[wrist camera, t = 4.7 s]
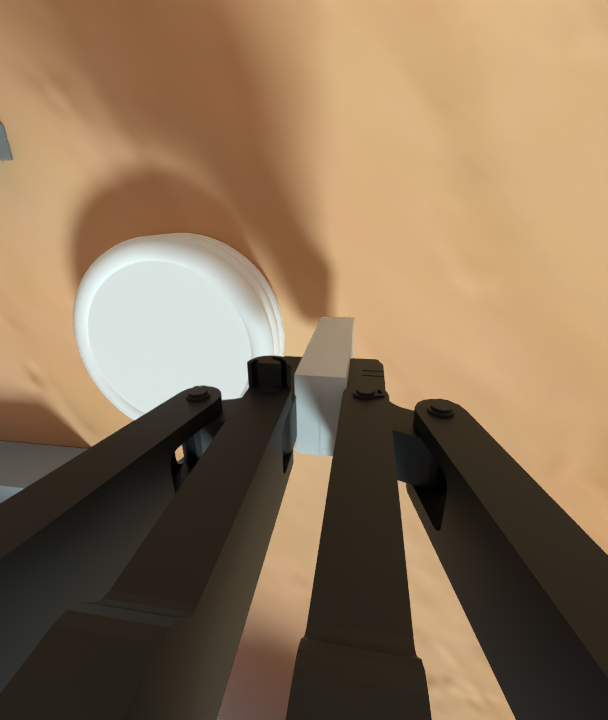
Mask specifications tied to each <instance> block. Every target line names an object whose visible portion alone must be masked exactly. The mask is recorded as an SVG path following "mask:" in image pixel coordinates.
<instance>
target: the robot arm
mask: <svg viewBox="0 0 608 720" xmlns="http://www.w3.org/2000/svg"><path fill="white" fill-rule="evenodd" d="M353 342H354V318H350V317H321V318H320V320H319V323H318V325H317V327H316V329H315V331H314V333H313V335H312V338H311V340H310V342H309V344H308V346H307V348H306V350H305V353H304V355H303V357H292V356H285V357H282V356H275V355H270V356H260V357H256V358H253V359H251V360H249V361H248V362H247V370H248V383H249V388H248V389H247V391H246V392H245V394H244V395H243V397H242V398H237V399H227V400H222V395H221V391H220V390H219V389H218V388H215V387H211V386H205V385H201V386H194V387H193V388H189V389H186V390H184V391H182V392H180V393H178V394H176V395H175V396H173V397H172V398H170V399H168V400H167V401H165V402H164V403H162V404H160V405H159V406H157V407H155V408H154V409H152V410H151V411H149V412H147V413H146V414H144V415H142V416H141V417H139V418H138V419H136V420H134V421H133V422H131V423H130V424H128V425H126V426H125V427H123V428H121V429H120V430H118V431H117V432H115V433H113V434H112V435H110V436H108V437H107V438H105V439H104V440H102V441H100V442H99V443H97V444H96V445H94V446H92V447H91V448H89V449H87V450H86V451H84V452H83V453H81V454H79V455H78V456H76V457H74V458H73V459H71V460H70V461H68V462H66V463H65V464H63V465H62V466H60V467H58V468H57V469H55V470H53V471H52V472H50V473H49V474H47V475H45V476H44V477H42V478H40V479H39V480H37V481H36V482H34V483H32V484H31V485H29V486H28V487H26V488H24V489H23V490H21V491H19V492H18V493H16V494H15V495H13V496H11V497H10V498H8V499H6V500H5V501H3V502H2V503H0V720H216V719H217V716H218V712H219V709H220V706H221V702H222V699H223V695H224V692H225V689H226V685H227V682H228V679H229V675H230V672H231V669H232V665H233V662H234V659H235V655H236V652H237V649H238V645H239V642H240V639H241V635H242V632H243V629H244V625H245V622H246V619H247V615H248V612H249V609H250V605H251V602H252V599H253V595H254V592H255V589H256V585H257V582H258V579H259V575H260V572H261V569H262V565H263V562H264V559H265V555H266V552H267V549H268V545H269V542H270V539H271V535H272V532H273V529H274V525H275V522H276V519H277V515H278V512H279V509H280V505H281V502H282V499H283V495H284V492H285V489H286V485H287V482H288V479H289V475H290V472H291V469H292V465H293V447H294V444H295V441H296V453H301V454H312V455H323V456H333V459H332V466H331V472H330V479H329V485H328V492H327V498H326V505H325V511H324V518H323V524H322V531H321V537H320V544H319V550H318V557H317V563H316V570H315V576H314V583H313V589H312V596H311V602H310V609H309V615H308V622H307V627H306V632H305V636H304V637H303V638H301V641H300V644H299V647H298V652H297V657H296V662H295V667H294V673H293V679H292V685H291V691H290V697H289V703H288V709H287V715H286V720H432V719H431V711H430V703H429V694H428V688H427V681H426V675H425V670H424V666H423V663H422V659H420V658H418V657H417V655H416V652H415V646H414V639H413V629H412V619H411V609H410V599H409V590H408V580H407V570H406V560H405V550H404V540H403V531H402V521H401V511H400V501H399V491H398V481H397V480H399V481H402V482H405V483H406V488H407V493H408V495H409V497H410V499H411V501H412V503H413V505H414V507H415V509H416V511H417V513H418V516H419V518H420V520H421V522H422V524H423V526H424V528H425V530H426V532H427V534H428V536H429V539H430V541H431V543H432V545H433V547H434V549H435V551H436V553H437V555H438V557H439V560H440V562H441V564H442V566H443V568H444V570H445V572H446V574H447V576H448V578H449V580H450V583H451V585H452V587H453V589H454V591H455V593H456V595H457V597H458V599H459V601H460V603H461V606H462V608H463V610H464V612H465V614H466V616H467V618H468V620H469V622H470V624H471V627H472V629H473V631H474V633H475V635H476V637H477V639H478V641H479V643H480V645H481V647H482V650H483V652H484V654H485V656H486V658H487V660H488V662H489V664H490V666H491V668H492V671H493V673H494V675H495V677H496V679H497V681H498V683H499V685H500V687H501V689H502V691H503V694H504V696H505V698H506V700H507V702H508V704H509V706H510V708H511V710H512V712H513V714H514V717H515V719H516V720H608V555H607V554H606V553H605V552H604V551H603V550H602V549H601V548H600V547H599V546H598V545H597V544H596V543H595V542H594V541H593V540H592V539H591V538H590V537H589V536H588V535H587V534H586V533H585V532H584V531H583V530H582V528H581V527H580V526H579V525H578V524H577V523H576V522H575V521H574V520H573V519H572V518H571V517H570V516H569V515H568V514H567V513H566V512H565V511H564V510H563V509H562V508H561V507H560V506H559V505H558V504H557V503H556V502H555V501H554V500H553V499H552V498H551V497H550V496H549V495H548V494H547V493H546V492H545V491H544V490H543V489H542V488H541V487H540V486H539V485H538V483H537V482H536V481H535V480H534V479H533V478H532V477H531V476H530V475H529V474H528V473H527V472H526V471H525V470H524V469H523V468H522V467H521V466H520V465H519V464H518V463H517V462H516V461H515V460H514V459H513V458H512V457H511V456H510V455H509V454H508V453H507V452H506V451H505V450H504V449H503V448H502V447H501V446H500V445H499V444H498V443H497V442H496V441H495V439H494V438H493V437H492V436H491V435H490V434H489V433H488V432H487V431H486V430H485V429H484V428H483V427H482V426H481V425H480V424H479V423H478V422H477V421H476V420H475V419H474V418H473V417H472V416H471V415H470V414H469V413H468V412H467V411H466V410H465V409H464V408H462V407H461V406H460V405H458V404H455V403H453V402H451V401H448V400H444V399H428V400H423V401H421V402H418V403H417V404H416V406H415V411H413V410H408V409H405V408H401V407H399V406H396V405H394V404H393V403H391V402H390V401H389V395H388V393H387V392H386V391H385V380H384V369H383V365H382V364H381V363H380V362H379V361H378V360H376V359H355V358H353ZM181 445H182V447H183V454H184V457H183V458H182V459H181V460H180V461H176V457H175V451H176V449H177V448H178V447H179V446H181Z"/></svg>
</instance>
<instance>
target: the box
mask: <svg viewBox="0 0 608 720" xmlns="http://www.w3.org/2000/svg"><path fill="white" fill-rule="evenodd" d="M2 160H13V159H12V155H11V152H10V148H9V145H8V141H7V137H6V134H5V130H4V126H3V124H0V161H2ZM86 450H87V448H76V447H65V446H54V445H42V444H31V443H20V442H9V441H0V503H2V502H3V501H5V500H6V499H8V498H10V497H11V496H13V495H15V494H16V493H18V492H19V491H21V490H23V489H24V488H26V487H28V486H29V485H31V484H32V483H34V482H36V481H37V480H39V479H40V478H42V477H44V476H45V475H47V474H49V473H50V472H52V471H53V470H55V469H57V468H58V467H60V466H62V465H63V464H65V463H66V462H68V461H70V460H71V459H73V458H74V457H76V456H78V455H79V454H81V453H83V452H84V451H86Z"/></svg>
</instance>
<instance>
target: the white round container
mask: <svg viewBox="0 0 608 720" xmlns="http://www.w3.org/2000/svg"><path fill="white" fill-rule="evenodd" d="M73 324H74V332H75V338H76V342H77V346H78V350H79V352H80V355H81V358H82V360H83V363H84V365H85V367H86V369H87V371H88V373H89V375H90V376H91V378H92V379H93V381H94V382H95V384H96V385H97V387H98V388H99V389H100V390H101V392H102V393H103V394H104V395H105V397H106V398H107V399H108V400H109V401H110V402H111V403H112V404H113V405H114V406H116V407H117V408H118V409H119V410H120V411H122V412H123V413H124V414H125V415H127V416H128V417H130V418H131V419H133V420H136V419H138V418H139V417H141V416H142V415H144V414H146V413H147V412H149V411H151V410H152V409H154V408H155V407H157V406H159V405H160V404H162V403H164V402H165V401H167V400H168V399H170V398H172V397H173V396H175V395H176V394H178V393H180V392H182V391H184V390H186V389H189V388H193V387H194V386H201V385H205V386H211V387H215V388H218V389H219V390H220V391H221V395H222V400H227V399H237V398H242V397H243V395H244V394H245V392H246V391H247V389H248V388H249V383H248V370H247V362H248V361H249V360H251V359H253V358H256V357H260V356H270V355H275V356H282V357H283V354H284V344H285V335H284V324H283V318H282V314H281V311H280V307H279V304H278V301H277V299H276V297H275V295H274V292H273V290H272V289H271V287H270V285H269V284H268V282H267V280H266V279H265V277H264V276H263V275H262V274H261V272H260V271H259V270H258V269H257V267H256V266H254V265H253V264H252V263H251V262H250V261H249V260H248V259H247V258H246V257H245V256H243V255H242V254H241V253H239V252H238V251H237V250H235V249H234V248H232V247H230V246H229V245H227V244H225V243H223V242H221V241H218V240H216V239H214V238H211V237H207V236H204V235H200V234H193V233H170V234H160V235H148V236H141V237H135V238H132V239H129V240H125V241H123V242H121V243H119V244H117V245H115V246H113V247H111V248H110V249H109V250H107V251H106V252H104V253H103V254H102V255H100V256H99V257H98V258H97V259H96V260H95V261H94V262H93V263H92V264H91V266H90V267H89V268H88V270H87V271H86V273H85V274H84V276H83V278H82V280H81V282H80V284H79V287H78V290H77V294H76V297H75V303H74V310H73Z"/></svg>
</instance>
